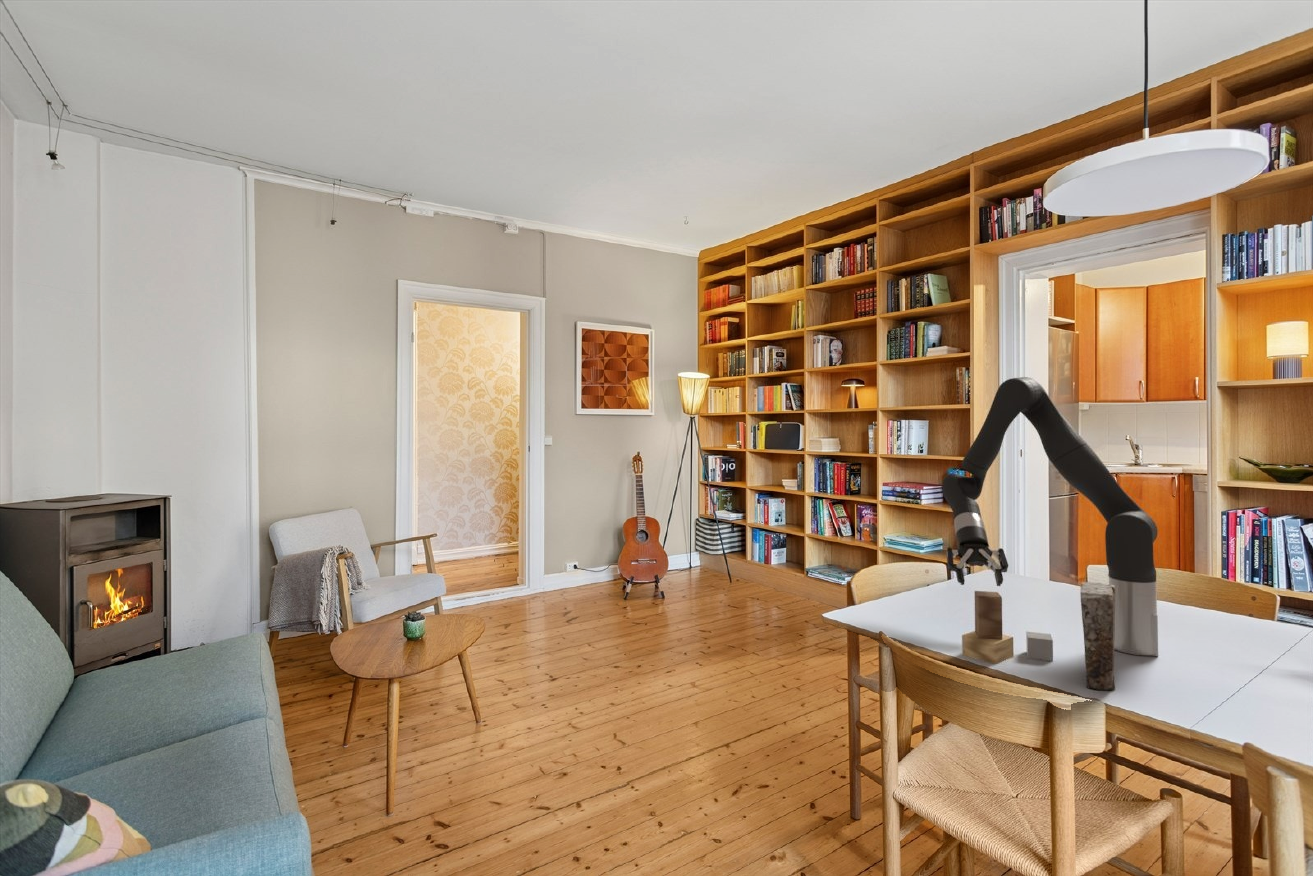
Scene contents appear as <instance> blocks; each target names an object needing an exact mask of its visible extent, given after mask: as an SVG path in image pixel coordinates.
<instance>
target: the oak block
mask: <svg viewBox="0 0 1313 876" xmlns="http://www.w3.org/2000/svg"><path fill="white" fill-rule="evenodd" d="M961 643H962V645H961V647H962V648H961V654H962V656H965V655H966V656H965V657H968V656H969V658H973V659H976V660H979V659H980V661H983V662H985V663H990V664H993V665H997V664H1000V663H1003V662H1005V661H1007V660H1009V659H1012V658H1014V636H1010V635H1007V634H1003V633H1002V640H998V639H985V638H979V637H978V636H977V634H976V632H975V630H973V631H970V632H967V633H964V634H961ZM1006 659H1007V660H1006ZM1004 660H1005V661H1004ZM1002 661H1003V662H1002Z"/></svg>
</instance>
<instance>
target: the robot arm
mask: <svg viewBox="0 0 1313 876" xmlns="http://www.w3.org/2000/svg"><path fill="white" fill-rule="evenodd" d="M1020 413H1021V414H1022V415H1023V416H1024V417H1025V418H1026V419H1027V420H1028V422H1029V423H1030V424H1031V425H1032V426H1033V427H1034V428H1035V430H1036V432H1037V434H1038V436H1039V439H1040V441H1041V444H1042V448H1043V450H1044V453H1045V455H1046V456H1047V458H1048V460H1049V461H1050V463H1051V464H1052V466H1054V467H1055V470H1057V471H1058V473H1059V474H1060V475H1061V477H1062V478H1063V479H1064V480H1065V481H1066V482H1068V484H1069V485H1071V486H1072V487H1073V488H1074V489H1075V490H1077V491H1078V492H1079V493H1080V494H1081V495H1083V497H1085V498H1086V499H1087V500H1089V501H1090V502H1091V503H1092V504H1093V505H1094V506H1095V507H1096V509H1097V510H1098V511H1099V513H1100V514H1101V515H1102V517H1103V518H1104V520H1105V521H1106V523H1107V524H1106V527H1105V534H1104V538H1105V543H1104V544H1105V559H1106V561H1105V562H1106V565H1107V566H1106V567H1107V568H1108V584H1110V585H1114V586H1115V587H1116V597H1115V641H1114V651H1118V652H1121V653H1124V654H1125V653H1126V654H1130V655H1135V656H1153V657H1155V656H1156V657H1159V628H1158V627H1159V625H1158V624H1159V622H1158V621H1159V620H1158V617H1159V616H1158V608H1157V607H1158V600H1157V598H1158V597H1157V595H1158V594H1157V570H1156V567H1155V563H1154V562H1155V561H1154V559H1155V558H1154V543H1155V541H1156V539H1157V537H1158V533H1159V532H1158V531H1159V530H1158V527H1157V525H1156V522H1155V521H1154V519H1153V518H1152V517H1151V516H1150V515H1149V514H1147V512H1146V511H1145V510H1144V509H1142V508H1141V507H1140V505H1138V504H1137V502H1135V501H1134V500H1133V499H1132V498H1131V497H1130V495H1128V494H1127V493H1126V491H1125V490H1124V489H1123V488H1122V487H1121V486H1120V484H1119V483H1118V481H1117V480H1116V478H1115V477H1114V476H1113V474H1112V473H1111V472H1110V470H1109V469H1108V467H1106V465H1105V463H1104V462H1102V460H1101V459H1100V457H1099V456H1098V455H1097V453H1096V452H1095V450H1093V449H1092V447H1090V445H1089V444H1088V443H1087V442H1086V441H1085V440H1084V439H1083V438H1082V436H1081V435H1080V433H1078V431H1076V429H1075V428H1074V427H1073V426H1072V424H1070V422H1069V421H1068V420H1067V419H1066V418H1065V417H1064V416H1063V415H1062V413H1061V412H1060V410H1059V409H1058V408H1057V406H1056V405H1055V404H1054V402H1053V400H1052V399H1051V398H1050V396H1049V394H1048V393H1047V391H1046V390H1045V388H1044V387H1043V386H1042V384H1041V383H1040V382H1039V381H1038V380H1037V379H1034V378H1032V377H1028V376H1027V377H1026V376H1023V377H1022V376H1020V377H1014V378H1013V377H1012V378H1009V379H1006V380H1005V381H1002V383H1000V385H999V387H998V388H997V390H996V393H995V395H994V397H993V400H992V403H991V406H990V409H989V411H988V413H987V416H986V418H985V420H984V422H983V424H982V426H981V428H980V430H979V433H978V434H977V435H976V438H975V439H974V441H973V443H972V444H971V446H969V447H970V448H969V449H968V451H967V453H966V454H965V456H964V458H963V459H962V460H961V467H962V469H964V471H966V472H967V473H969V474H971V475H970V477H969V476H966V475H963V474H959V473H955V472H950V473H948V474H946V475H945V476H944V477H943V478H942V482H941V491H942V494H943V496H944V499H945V500H946V502H947V504H948V506H949V507H950V509H951V511H952V517H953V520H954V525H953V526H954V534H955V538H956V543H957V548H958V549H953V548H952V547H947V549H946V563H947V570H948V571H949V572H955V574H956V580H957V583H958V584H960V585H961V586H963V585H965V576H964V575H965V574H964V569H965V568H967V567H966V566H968V565H969V566H970V567H974V566H975V567H976V566H978V567H983V566H985V568H987V569H988V570H991V571H992V572H993V573H994V578H995V583H996V587H1001V585H1003V581H1004V578H1003V573H1007V572H1008V568H1009V563H1008V560H1007V558H1006V553H1005V551H1004V548H998V549H997V550H992V549H991V547H990V546H989V541H988V535H987V531H986V527H985V523H984V521H983V518H982V513H981V509H980V506H979V504H978V502H977V501H976V500H978V498H979V497H980V496H981V495H982V494H981V493H982V490H983V487H984V483H985V480H986V476H987V473H988V471H989V469H990V467H991V466H992V465H993V463H994V461H995V460H996V458H997V456H998V454H999V452H1000V451H1001V447H1002V444H1003V442H1004V438H1005V435H1006V432H1007V431H1008V429H1009V427H1010V426H1011V424H1012V422H1013V421H1015V419H1016V418H1017V417H1018V415H1020ZM956 555H957V556H958V558H960V560H959V562H957V564H955V563H954V559H955V558H956ZM992 556H994V557H995V559H997V560H998V561H999V562H998V563H997V562H996V560H995V559H994V558H993V557H992Z"/></svg>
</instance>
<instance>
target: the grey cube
mask: <svg viewBox="0 0 1313 876" xmlns="http://www.w3.org/2000/svg"><path fill="white" fill-rule="evenodd" d="M1025 633H1026V638H1025V640H1026V654H1027V655H1026V656H1027V659H1029V658H1031V659H1030V660H1037V659H1044V660H1043V661H1046V660H1050V661H1049V662H1054V639H1053V637H1052V634H1051V633H1044V632H1036V631H1033V632H1032V631H1028V630H1027V631H1026V632H1025Z"/></svg>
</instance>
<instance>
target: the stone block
mask: <svg viewBox="0 0 1313 876" xmlns="http://www.w3.org/2000/svg"><path fill="white" fill-rule="evenodd" d="M1115 597H1116V587H1115V586H1114V585H1110V584H1109V583H1101V582H1090V581H1082V582H1081V583H1080V608H1081V620H1082V622H1081V623H1082V630H1083V632H1082V633H1083V645H1084V661H1085V662H1084V663H1085V669H1086V671H1085V672H1086V674H1085V675H1086V676H1085V677H1086V683H1085V684H1086V685H1085V686H1086V689H1090V690H1095V691H1096V690H1097V691H1105V690H1106V691H1109V690H1111V691H1113V690H1115V689H1116V686H1115V676H1114V673H1115V672H1114V671H1115V670H1114V669H1115V668H1114V667H1115V649H1114V641H1115Z"/></svg>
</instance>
